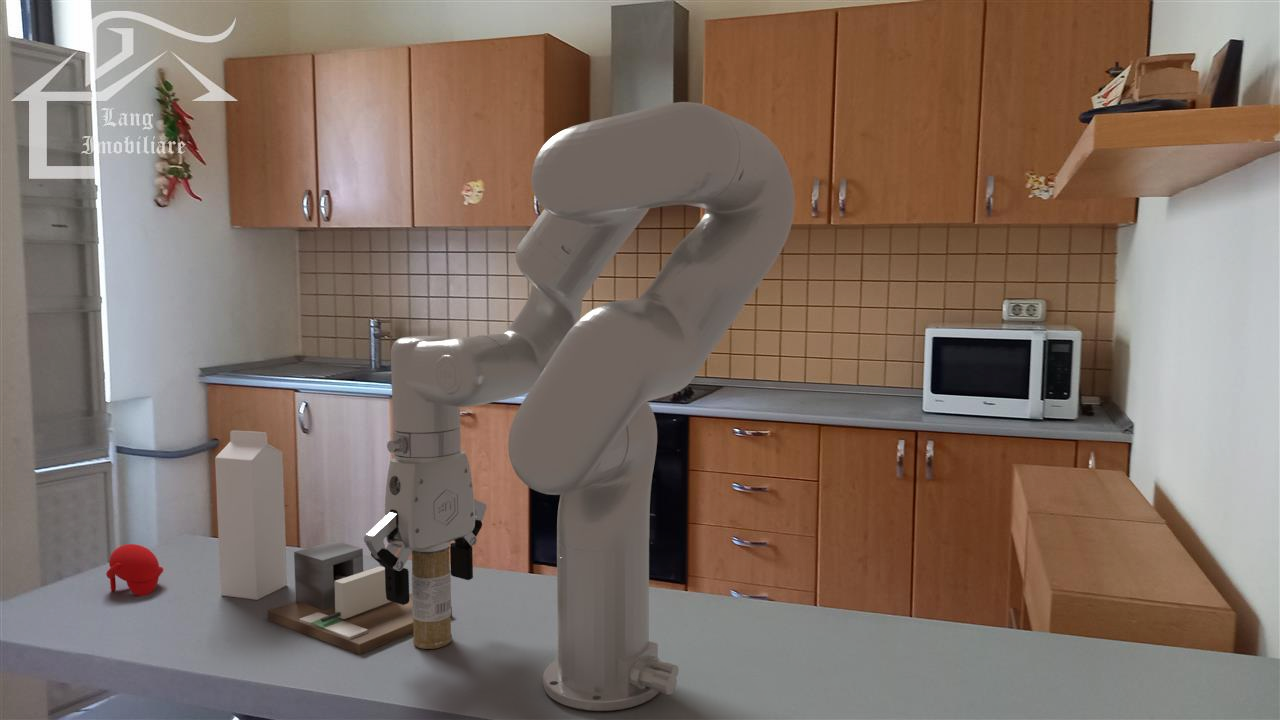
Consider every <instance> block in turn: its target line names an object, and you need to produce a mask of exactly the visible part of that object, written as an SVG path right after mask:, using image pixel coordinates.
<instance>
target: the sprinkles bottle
mask: <svg viewBox="0 0 1280 720" xmlns="http://www.w3.org/2000/svg"><path fill="white" fill-rule="evenodd" d="M450 546H451V541H450V542H446V543H443V544H440V545H437V546H434V547H431V548H428V549H424V550H419V551H416V550H412V552H411V594H412V610H413V625H414V632H413V639H412V643H413V645H414V646H415V647H417V648H419V649H426V650H433V649H439V648H443V647H446V645H448V644H450V643H451V642H452V639H453V635H452V622H451V617H452V616H451V617H450V615H451V607H452V591H451V590H452V587H451V586H452V585H451V582H452V581H451V580H452V579H451V576H452V575H451V565H450Z"/></svg>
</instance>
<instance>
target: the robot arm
mask: <svg viewBox="0 0 1280 720" xmlns="http://www.w3.org/2000/svg"><path fill="white" fill-rule="evenodd" d="M531 171H532V172H531V185H532V187H531V188H532V191H533V194H534V197H535V199H536V200H537V202H538V204H539V206H540V207H542V208H543V211H541V213H540V214H539V216H538V217H537V219H536V220H535V221H534V223H533V224H532V225H531V227H530V229H529V230H528V231H527V233H526V234H525V236H523V238H522V240H521V241H520V242H519V244H518V245H517V247H516V250H515V262H516V265H517V267H518V269H519V270H520V272H521V274H522V275H523V276H524V277H525V279H526V280H527V281H528V282H529V283H530V284H531V286H530V287H531V289H530V293H529V295H528V298H527V300H526V302H525V303H524V305H523V306H522V309H521V310H520V312H519V313H518V314H517V316H516V317H515V318H514V320H513V321H512V323H511V324H510V326H508V327H507V329H506V330H505V331H504V332H503V333H495V334H494V333H492V334H482V335H477V336H468V337H466V336H464V337H455V338H452V337H451V338H450V337H449V336H441V335H439V336H438V335H415V336H405V337H401V338H398V339H396V340H395V341H394V342H393V343H392V346H391V349H390V366H391V369H390V370H391V371H390V374H391V398H392V399H391V403H392V406H391V408H392V436H393V437H392V440H389V441H388V442H387V444H386V447H387V450H388V452H389V453H392V454H393V458H390V460H389V465H388V470H387V477H386V478H387V479H386V487H385V499H384V517H383V518H382V519H381V520H380V521H379V522H378V523H376V524H375V525H374V526H373V527H372V528H371V529H370V530H369V531H368V532H367V533H366V534H365V535H364V537H363V541H364V543H365V545H366V547H367V548H368V550H369V552H370V555H371V557H372V558H373V559H374V560H375V561H376V562H377V563H379V566H382V567H385V589H386V598H387V600H389V601H392V602H395V603H398V604H402V605H405V604H407V603H408V602H409V594H410V579H409V578H410V575H409V572H410V571H409V569H408V568H405V565H406V564H407V562H408V560H409V558H410V557H411V555H412V550H416V551H419V550H424V549H428V548H431V547H434V546H437V545H440V544H443V543H446V542H450V546H449V547H450V548H449V565H450V576H452V577H454V578H458V579H462V580H466V581H470V580H472V579H473V578H474V569H473V568H474V563H473V558H474V557H473V546H475V545H476V544H477V541H478V538H477V536H478V534H479V532H480V531H481V530H482V527H483V523H482V521H483V520H484V516H485V514H486V510H487V504H486V503H484V502H481V501H480V500H476V499H475V498H474V497H475V496H474V495H475V494H474V487H473V479H472V473H471V467H470V463H469V462H470V461H469V459H468V455H467V453H466V451H464V450H461V449H462V443H461V442H462V438H461V437H462V436H461V434H462V433H461V432H462V431H461V408H472V407H477V406H483V405H486V404H487V405H488V404H491V403H494V402H498V401H505V400H511V399H515V398H519V397H523V396H524V395H526V394H527V395H526V396H525V398H524V399H523V401H522V403H521V404H520V406H519V408H518V410H517V411H516V413H515V415H514V418H513V420H512V422H511V425H510V426H511V427H510V429H509V434H508V443H507V444H508V445H507V447H508V457H509V460H510V463H511V464H510V465H511V466H512V468H513V471H514V472H515V474H516V476H517V477H518V478H519V480H521V482H522V483H523V484H524V485H526V486H527V487H529V488H530V489H531V490H534V491H535V492H537V493H541V494H545V495H550V496H551V495H552V496H553V495H554V496H557V495H558V496H559V502H558V507H557V508H558V509H557V516H556V517H557V520H556V521H557V522H556V569H557V570H556V573H557V574H556V575H557V576H556V583H557V584H556V585H557V586H556V587H557V588H556V589H557V590H556V592H557V593H556V594H557V602H556V603H557V607H556V608H557V609H556V610H557V658H556V659H555V660H553V661H551V662H550V664H549V665H547V666H546V667H545V670H544V671H543V674H542V675H543V676H542V682H543V683H542V685H543V686H542V687H543V689H544V691H545V693H546V695H548V697H550V698H551V699H553V700H554V701H556V702H557V703H559V704H560V705H561V704H562V705H563V706H566V707H569V708H574V709H578V710H584V711H591V712H592V711H595V712H610V711H618V710H625V709H629V708H633V707H637V706H639V705H642V704H645V703H647V702H648V701H650V700H652V699H653V698H654V697H656V696H657V695H658V694H659V693H662V694H665V695H669V696H670V695H672V694H673V693H674V691H675V690H676V688H677V677H678V675H679V666H678V665H677V664H675V663H674V664H673V663H670V662H666V661H661V660H660V658H659V656H658V654H659V652H658V651H659V649H658V647H659V644H658V643H657V642H653V641H650V514H651V513H650V509H651V508H650V507H651V505H650V504H651V491H652V481H653V473H654V467H655V461H656V455H657V448H658V447H657V445H658V427H657V420H656V415H655V414H654V411H653V408H652V407H651V405H650V403H649V402H651V401H654V400H657V399H661V398H664V397H668V396H670V395H674V394H676V393H678V392H680V391H681V390H683V389H684V388H686V387H687V386H688V385H689V384H691V382H692V381H693V380H694V378H695V377H696V376H697V374H698V372H699V371H700V370H701V368H702V367H703V365H704V364H705V362H706V361H707V359H708V358H709V357H710V355H711V354H712V352H713V351H714V349H715V348H716V347H717V346H718V344H719V343H720V341H721V340H722V338H723V337H724V336H725V334H726V333H727V332H728V331H729V329H730V327H731V326H732V325H733V323H734V322H735V320H736V319H737V317H738V315H739V313H741V311H742V309H743V308H744V307H745V305H746V304H747V302H748V301H749V299H750V298H751V296H752V295H753V293H754V292H755V291H756V290H757V288H758V287H759V285H760V284H761V283H762V281H763V280H764V278H765V277H766V276H767V275H768V273H769V271H770V270H771V269H772V267H773V266H774V264H775V262H776V261H777V259H778V258H779V256H780V254H781V252H782V250H783V248H784V247H785V244H786V243H787V240H788V237H789V234H790V232H791V229H792V228H791V227H792V224H793V219H794V213H795V189H794V184H793V180H792V176H791V173H790V170H789V167H788V165H787V163H786V161H785V158H784V157H783V154H782V153H781V152H780V150H779V149H778V147H777V146H776V145H775V143H774V142H773V140H771V139H770V138H769V137H768V136H767V135H766V134H765V133H763V132H762V131H761V130H759V129H758V128H757V127H755V126H753V125H752V124H750V123H748V122H746V121H744V120H742V119H740V118H737V117H735V116H733V115H730V114H727V113H725V112H723V111H721V110H719V109H717V108H714V107H712V106H710V105H706V104H704V103H700V102H690V101H679V102H678V101H677V102H671V103H666V104H661V105H656V106H652V107H648V108H643V109H639V110H635V111H631V112H627V113H626V112H625V113H623V114H617V115H614V116H609V117H605V118H600V119H596V120H595V119H594V120H591V121H587V122H583V123H580V124H576V125H572V126H569V127H568V128H564V129H563V130H561V131H559V132H557V133H556V134H555V135H553V136H552V137H550V138H549V139H548V140H547V141H546V142H544V144H543V145H542V147H541V148H540V150H539V151H538V153H537V155H536V157H535V159H534V163H533V166H532V169H531ZM673 205H675V206H677V205H686V206H687V205H688V206H691V207H698V208H702V209H704V214H703V216H702V218H701V220H700V221H699V222H698V223H697V225H696V226H695V227H694V228H693V229H692V230H691V231H690V232H689V233H688V234H687V235H686V236H685V237H684V238H683V239H682V240H681V241H680V242H679V244H678V245H676V247H675V248H674V249H673V251H672V252H671V254H669V256H668V258H667V260H666V261H665V263H664V265H663V266H662V268H661V270H660V271H659V272H658V274H657V275H656V277H655V278H654V279H653V280H652V282H651V284H650V285H649V286H648V287H647V288H646V290H645V291H644V292H643V293H642V294H641V295H640V296H639V297H637V298H635V299H630V300H628V299H626V300H625V299H624V300H615V301H610V302H607V303H603V304H601V305H597V306H596V307H594V308H593V309H591V310H589V311H587V313H585V314H584V315H583V316H582V317H581V314H582V308H583V299H584V298H585V295H586V294H587V292H588V291H589V290H590V289H591V287H592V286H593V284H594V283H595V282H596V281H597V280H598V278H599V276H600V275H601V273H603V272H604V269H606V267H607V266H608V264H609V263H610V262H611V260H612V259H613V258H614V257H615V256H616V254H617V253H618V251H620V249H621V248H622V246H623V245H624V244H625V242H626V241H627V240H628V238H629V237H630V235H632V233H633V232H634V230H635V229H636V228H637V227H638V225H639V224H640V223H641V221H642V220H643V219H644V218H645V216H646V215H647V213H648V212H649V210H650V209H654V208H660V207H667V206H673ZM385 538H386V541H387V543H388V544H387V545H386V547H385V544H384V540H385ZM452 541H453V542H452ZM398 550H399V551H398ZM396 554H397V555H396Z"/></svg>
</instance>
